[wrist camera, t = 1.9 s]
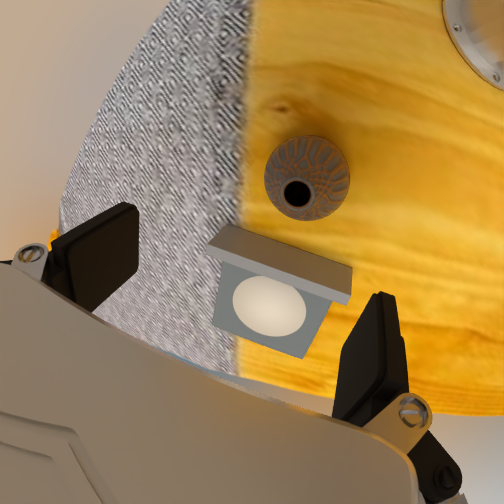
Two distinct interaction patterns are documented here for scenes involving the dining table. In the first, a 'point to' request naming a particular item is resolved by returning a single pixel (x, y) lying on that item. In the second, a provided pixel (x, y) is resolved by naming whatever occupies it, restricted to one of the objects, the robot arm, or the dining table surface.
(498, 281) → the dining table surface
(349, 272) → the low wall
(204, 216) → the dining table surface
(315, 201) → the vase
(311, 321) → the mat
